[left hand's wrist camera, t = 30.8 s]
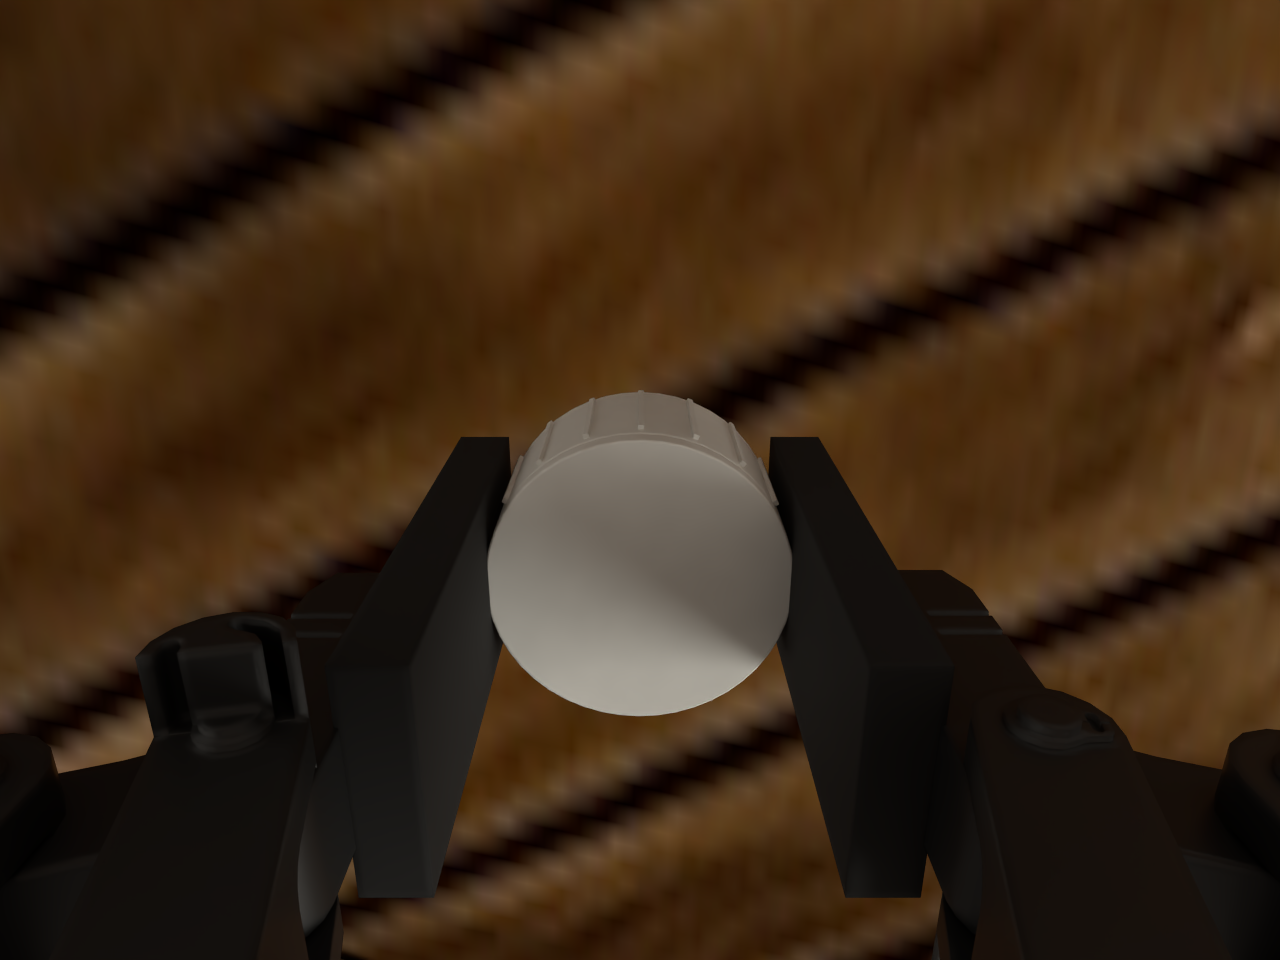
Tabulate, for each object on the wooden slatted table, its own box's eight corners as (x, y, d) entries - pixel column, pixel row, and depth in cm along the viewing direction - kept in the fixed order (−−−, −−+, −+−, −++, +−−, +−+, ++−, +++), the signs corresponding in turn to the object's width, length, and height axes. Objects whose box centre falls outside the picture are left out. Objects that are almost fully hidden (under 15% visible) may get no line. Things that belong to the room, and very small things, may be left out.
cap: (781, 388, 14) (809, 437, 11) (764, 637, 15) (786, 721, 13) (499, 385, 14) (473, 434, 11) (512, 634, 15) (490, 719, 13)
